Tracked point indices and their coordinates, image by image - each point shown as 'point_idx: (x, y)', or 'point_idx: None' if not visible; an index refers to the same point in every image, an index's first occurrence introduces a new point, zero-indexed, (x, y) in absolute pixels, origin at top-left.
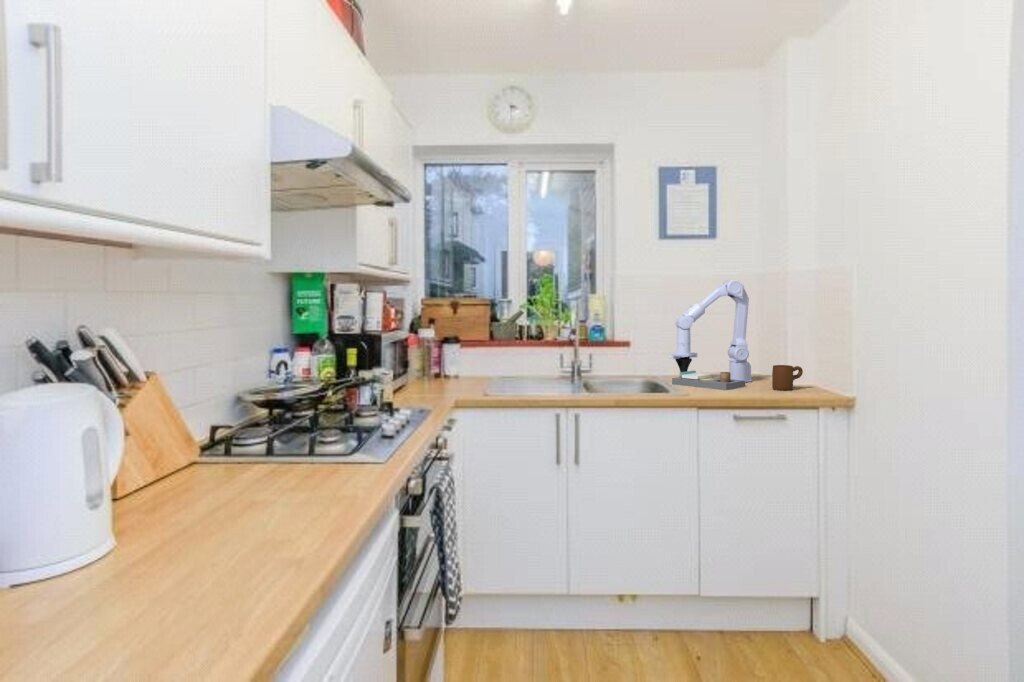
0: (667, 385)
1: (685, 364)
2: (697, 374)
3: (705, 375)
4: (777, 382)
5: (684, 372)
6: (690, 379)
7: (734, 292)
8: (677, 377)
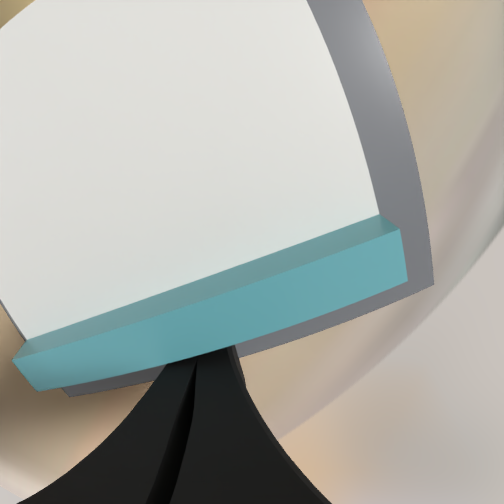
0: (486, 189)
1: (226, 472)
2: (62, 155)
3: (27, 7)
4: None
5: (311, 260)
6: None
7: None
8: (333, 320)
